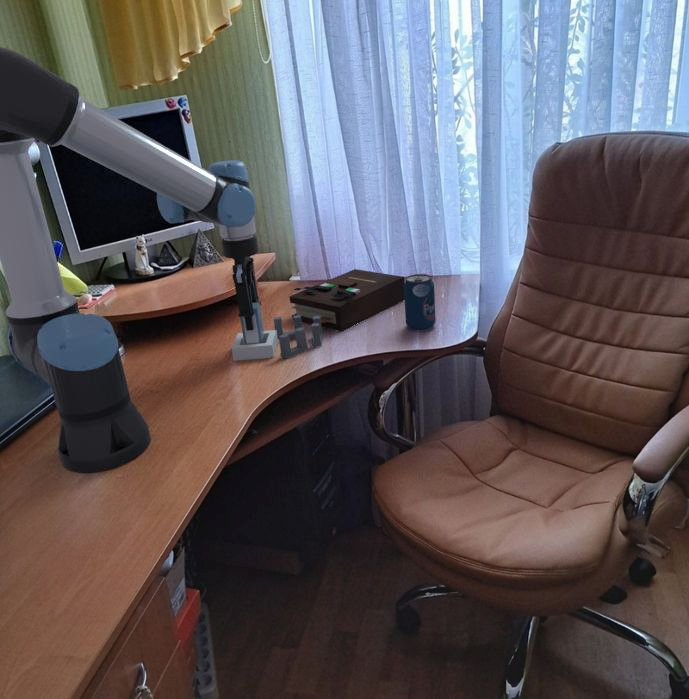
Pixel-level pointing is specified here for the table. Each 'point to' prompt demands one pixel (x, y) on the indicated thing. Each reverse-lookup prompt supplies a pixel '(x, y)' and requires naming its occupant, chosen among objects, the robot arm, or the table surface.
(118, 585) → the table surface
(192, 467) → the table surface
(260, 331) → the connector
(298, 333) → the clip
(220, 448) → the table surface
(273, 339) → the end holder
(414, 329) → the soda can
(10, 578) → the table surface
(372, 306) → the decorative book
